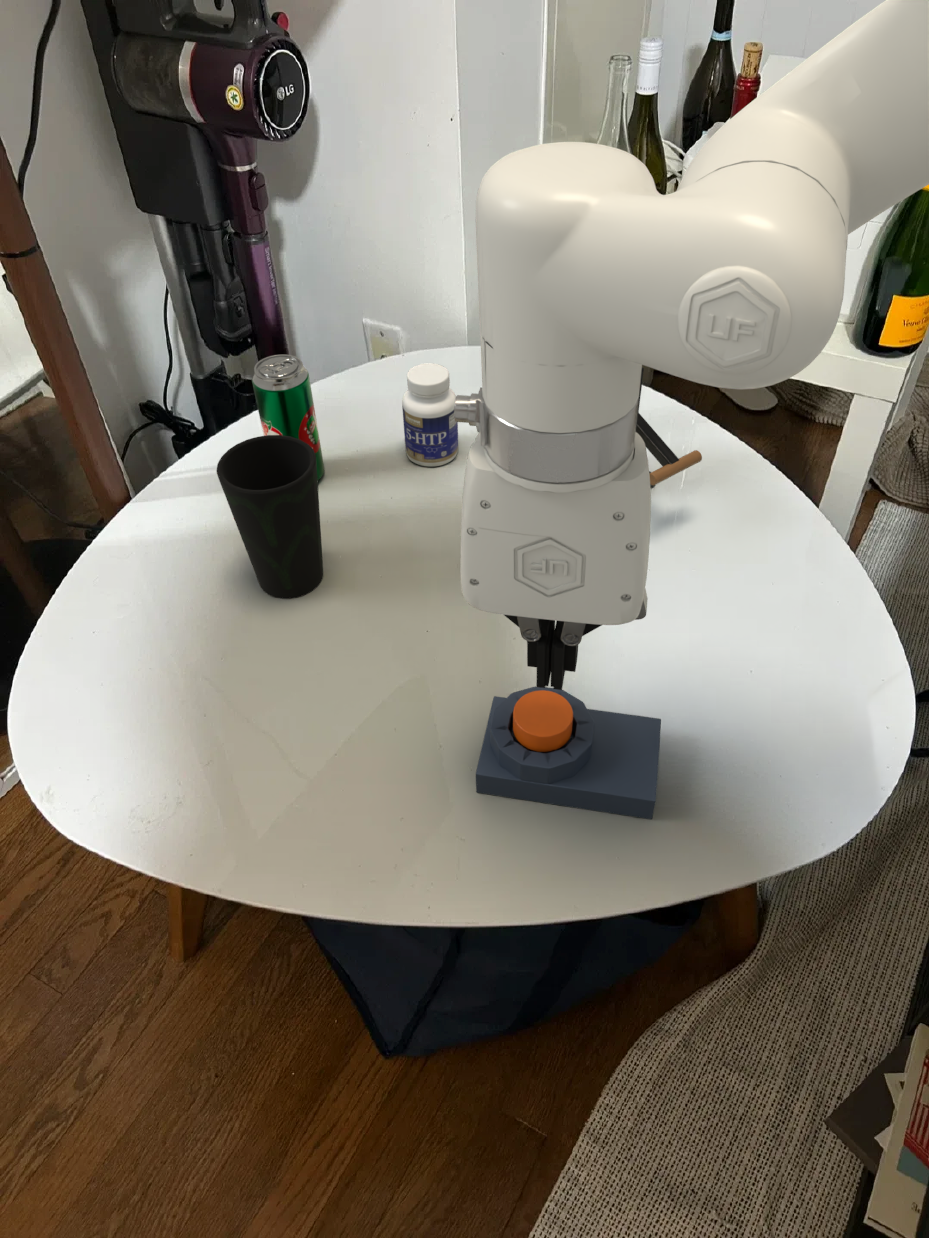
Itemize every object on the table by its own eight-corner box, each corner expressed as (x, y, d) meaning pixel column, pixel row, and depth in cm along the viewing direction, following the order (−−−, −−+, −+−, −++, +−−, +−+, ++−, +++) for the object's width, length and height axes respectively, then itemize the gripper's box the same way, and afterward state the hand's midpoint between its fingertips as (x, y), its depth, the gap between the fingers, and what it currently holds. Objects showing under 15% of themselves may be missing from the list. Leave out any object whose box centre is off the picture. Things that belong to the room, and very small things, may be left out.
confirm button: (575, 710, 64) (576, 693, 63) (568, 756, 61) (569, 740, 60) (518, 702, 64) (518, 686, 63) (508, 747, 62) (508, 731, 61)
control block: (657, 737, 66) (664, 702, 64) (652, 819, 62) (659, 785, 59) (493, 714, 68) (493, 679, 66) (476, 792, 64) (474, 758, 61)
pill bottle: (401, 466, 91) (393, 386, 85) (411, 436, 95) (405, 357, 88) (454, 470, 90) (450, 390, 84) (462, 439, 94) (460, 360, 88)
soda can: (264, 474, 91) (239, 364, 82) (308, 455, 93) (289, 346, 84) (289, 499, 88) (266, 387, 79) (334, 478, 90) (317, 368, 81)
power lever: (695, 468, 81) (707, 451, 79) (650, 492, 78) (660, 475, 76) (613, 373, 84) (621, 355, 82) (567, 393, 82) (575, 375, 80)
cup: (353, 574, 80) (336, 459, 71) (285, 620, 76) (257, 505, 68) (296, 536, 84) (273, 423, 75) (228, 579, 80) (196, 465, 71)
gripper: (394, 456, 44) (424, 702, 57) (713, 481, 42) (669, 733, 55) (429, 376, 49) (449, 618, 62) (715, 393, 47) (674, 643, 60)
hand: (552, 671), depth 58 cm, fingers closed
